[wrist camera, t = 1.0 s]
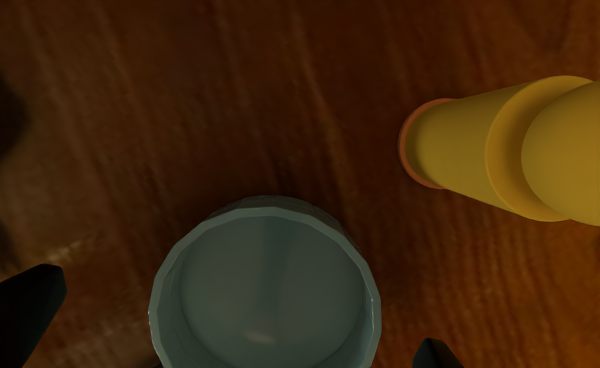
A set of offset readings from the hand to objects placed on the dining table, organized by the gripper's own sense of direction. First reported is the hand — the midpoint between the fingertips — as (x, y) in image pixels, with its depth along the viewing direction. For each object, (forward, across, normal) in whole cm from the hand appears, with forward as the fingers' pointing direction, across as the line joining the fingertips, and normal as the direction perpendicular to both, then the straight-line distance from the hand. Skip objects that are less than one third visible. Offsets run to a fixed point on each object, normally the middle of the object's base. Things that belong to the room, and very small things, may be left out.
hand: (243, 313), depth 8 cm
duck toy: (+15, -9, 0) cm, 18 cm away
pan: (+11, 0, +11) cm, 15 cm away
